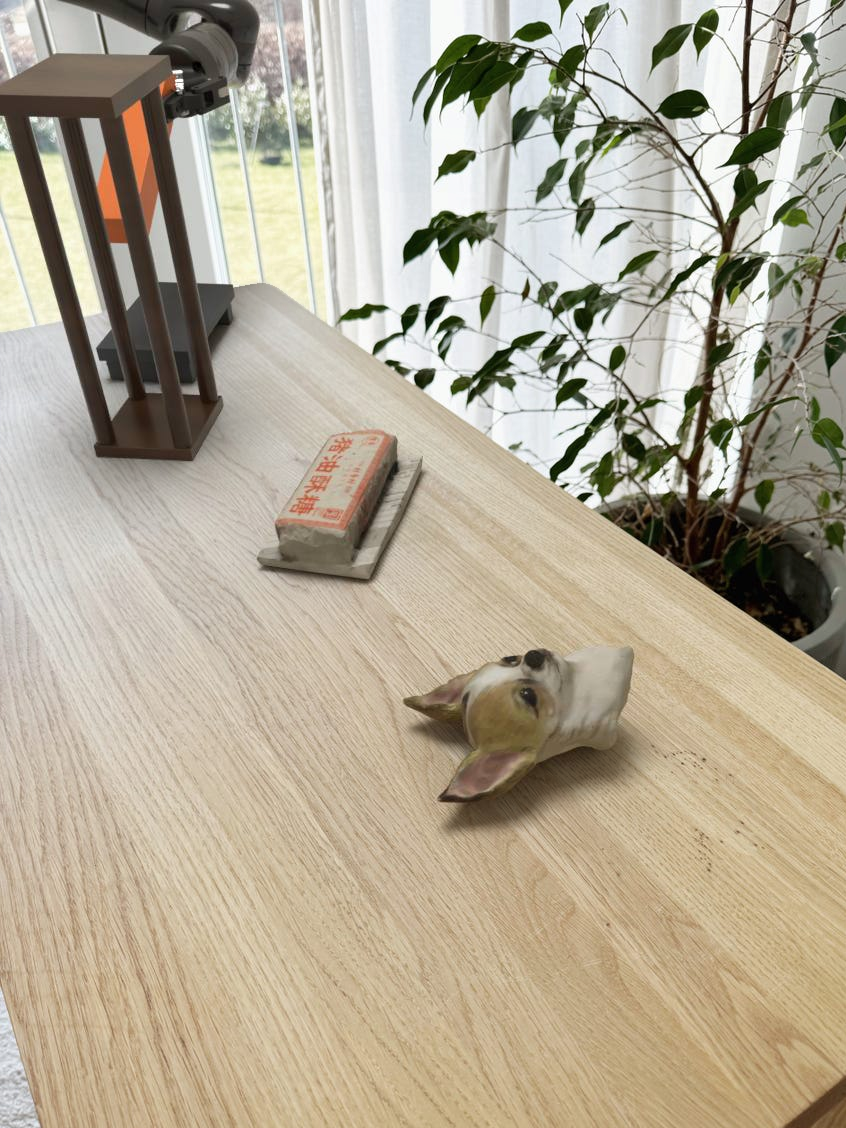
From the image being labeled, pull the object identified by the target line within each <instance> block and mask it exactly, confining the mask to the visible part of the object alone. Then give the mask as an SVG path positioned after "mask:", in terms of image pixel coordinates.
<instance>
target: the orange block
mask: <svg viewBox="0 0 846 1128" xmlns="http://www.w3.org/2000/svg"><path fill="white" fill-rule="evenodd" d="M171 69H172V68H171ZM172 74H173V75H172V76H170V77H169V78H168V79H166V80H165V81H164V82H163V83H161V84H160V85H159V86H160V91H161V96H162V97H163V96H164V95H166V94H167V93H168V92H172V88H173V87H174V86H175V84H176V83H175V81H176V79H175V76H174V73H173V71H172ZM122 115H123V119H124V124H125V129H126V133H127V138H128V143H129V147H130V152H131V157H132V161H133V166H134V171H135V175H136V180H137V185H138V189H139V194H140V199H141V203H142V208H143V213H144V217H145V222H146V227H147V231H148V236H149V237H150V233H151V229H152V224H153V220H154V215H155V210H156V204H157V202H158V201H157V200H158V196H159V191H158V186H157V181H156V176H155V171H154V166H153V161H152V156H151V151H150V147H149V142H148V137H147V132H146V127H145V122H144V117H143V112H142V107H141V102H140V100H139V101H138V102H136V103H135V104H134V105H133V106H131V107H130V108H129V109H127V110H126V111H125V112H123V113H122ZM173 125H174V120H173V121H172V122H171V123H170V124H167V128H168V133H169V139H170V140H171V135H172V130H173ZM96 186H97V190H98V194H99V198H100V202H101V206H102V210H103V215H104V219H105V223H106V227H107V231H108V235H109V240H110V244H127V245H128V243H127V239H126V235H125V230H124V226H123V222H122V217H121V213H120V208H119V204H118V200H117V195H116V191H115V187H114V182H113V178H112V174H111V169H110V165H109V160H108V156H107V152H106V151H105V153H104V156H103V161H102V164H101V169H100V174H99V178H98V182H97V185H96Z"/></svg>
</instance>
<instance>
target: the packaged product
mask: <svg viewBox="0 0 846 1128" xmlns="http://www.w3.org/2000/svg"><path fill="white" fill-rule="evenodd" d="M398 441H399V440H398V438H397V435H394V434H392V433H387V432H386V431H384V430H382V429H378V428H368V429H365V430H357V431H356V430H355V431H350V432H348V431H347V432H341V433H337V434H331V435H330V436H329V437H328V438H327V439H326V441H325V443H324V444H323V445H322V447H321V449H320V450H319V452H318V454H317V455H316V457H314V460H313V461H312V463H311V465H310V467H309V468H308V469H307V471H306V472H305V474H304V475H303V477H302V479H301V481H300V482H299V484H298V485H297V487H296V489H295V490H294V491H293V493H292V494H291V496H290V498H289V500H288V501H287V502H286V504H285V505H284V507H283V509H281V512H280V514H279V515H278V517H277V518H276V520H275V522H274V529H273V530H272V532H271V534H270V535H269V537H268V538H267V539H266V541H265V543H264V544H263V546H262V548H261V549H260V551H259V552H258V554H257V556H256V561H257V562H258V564H260V566H261V565H262V566H267V567H275V568H282V569H287V570H288V569H289V570H296V571H302V572H303V571H304V572H310V573H316V574H324V575H332V576H339V577H346V578H347V577H348V578H353V579H354V578H355V579H363V580H370V578H371V576H372V574H373V571H374V569H375V567H376V565H377V563H378V561H379V559H380V557H381V555H382V553H383V551H384V550H385V548H386V546H387V545H388V543H389V541H390V539H391V538H392V536H393V534H394V532H395V530H396V529H397V528H398V527H397V526H398V525H399V523H400V521H401V519H402V516H403V514H404V511H405V510H406V507H407V504H408V502H409V500H410V497H411V495H412V492H413V490H414V488H415V485H416V483H417V481H418V478H419V476H420V474H421V471H422V467H423V458H424V455H421V454H414V453H413V454H412V453H398Z"/></svg>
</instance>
